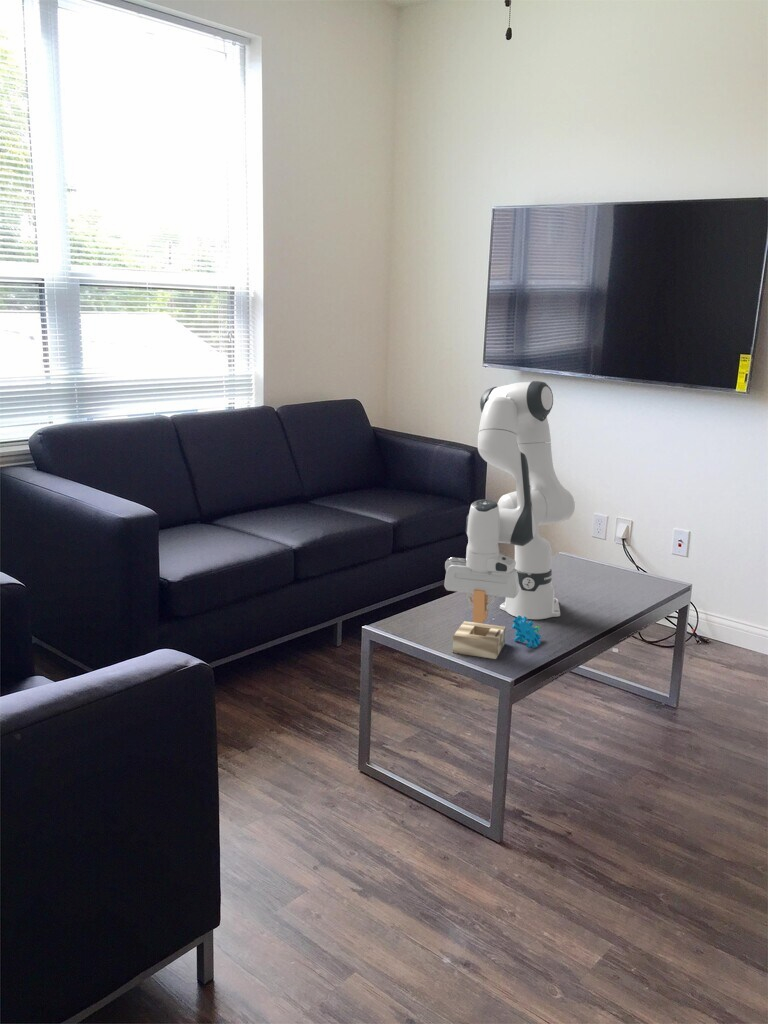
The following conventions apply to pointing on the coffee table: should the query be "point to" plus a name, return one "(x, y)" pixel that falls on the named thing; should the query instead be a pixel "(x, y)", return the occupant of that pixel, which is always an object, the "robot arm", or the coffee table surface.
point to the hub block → (479, 639)
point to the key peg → (479, 606)
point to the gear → (526, 632)
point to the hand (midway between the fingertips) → (480, 609)
